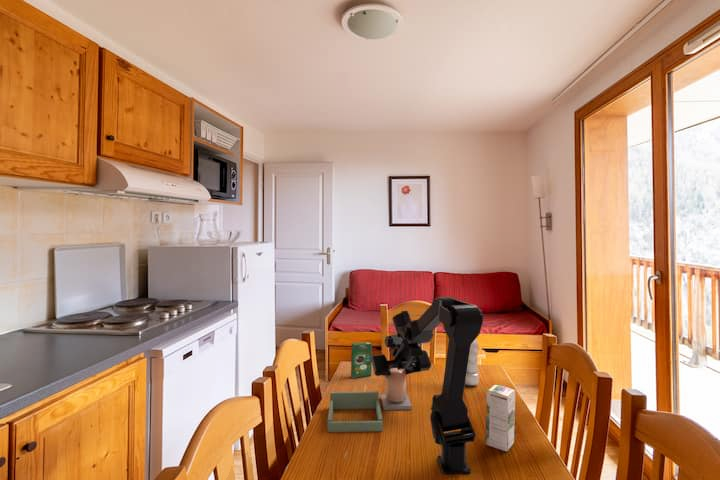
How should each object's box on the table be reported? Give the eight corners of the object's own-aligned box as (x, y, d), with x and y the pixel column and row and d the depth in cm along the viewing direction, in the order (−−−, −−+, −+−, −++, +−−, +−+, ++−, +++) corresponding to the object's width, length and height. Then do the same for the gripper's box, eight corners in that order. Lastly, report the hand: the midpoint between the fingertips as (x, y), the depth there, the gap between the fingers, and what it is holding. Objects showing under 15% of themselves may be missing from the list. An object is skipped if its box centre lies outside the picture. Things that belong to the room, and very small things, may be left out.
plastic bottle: (480, 388, 137) (480, 333, 137) (460, 387, 138) (460, 332, 138) (478, 382, 143) (478, 329, 143) (459, 380, 145) (459, 328, 145)
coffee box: (369, 373, 153) (369, 341, 153) (372, 375, 150) (372, 342, 150) (350, 376, 150) (350, 343, 150) (353, 378, 147) (353, 345, 147)
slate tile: (411, 409, 120) (411, 405, 120) (383, 409, 120) (383, 406, 120) (407, 397, 129) (407, 394, 129) (381, 398, 129) (381, 394, 129)
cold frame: (382, 431, 107) (382, 413, 107) (327, 432, 106) (327, 414, 106) (378, 406, 122) (378, 391, 122) (330, 407, 122) (330, 392, 122)
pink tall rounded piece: (401, 403, 120) (401, 375, 120) (383, 399, 123) (383, 372, 123) (408, 396, 126) (408, 368, 126) (390, 392, 129) (390, 366, 129)
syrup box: (493, 436, 104) (493, 383, 104) (515, 443, 100) (515, 388, 100) (485, 445, 100) (485, 389, 100) (508, 453, 96) (508, 395, 96)
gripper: (427, 325, 124) (412, 350, 134) (372, 329, 118) (362, 355, 129) (438, 357, 116) (422, 380, 126) (381, 362, 111) (369, 387, 121)
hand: (394, 374), depth 126 cm, fingers closed on pink tall rounded piece, 6 cm apart
